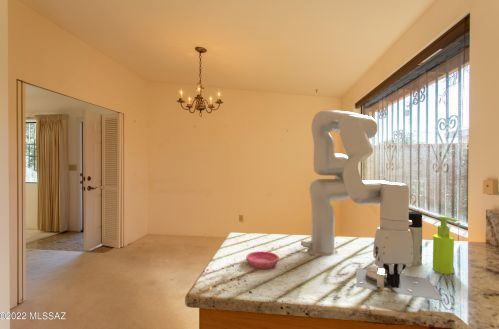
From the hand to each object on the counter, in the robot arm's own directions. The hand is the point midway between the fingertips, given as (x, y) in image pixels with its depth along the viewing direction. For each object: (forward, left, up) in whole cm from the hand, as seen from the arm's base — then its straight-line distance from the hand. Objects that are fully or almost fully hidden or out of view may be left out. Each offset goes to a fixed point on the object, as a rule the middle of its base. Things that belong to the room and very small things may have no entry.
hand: (393, 285), depth 81 cm
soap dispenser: (+19, +22, -2) cm, 29 cm away
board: (+1, +5, -2) cm, 6 cm away
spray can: (+10, +28, -2) cm, 30 cm away
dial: (-2, +6, -1) cm, 6 cm away
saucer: (-43, +7, -3) cm, 44 cm away
